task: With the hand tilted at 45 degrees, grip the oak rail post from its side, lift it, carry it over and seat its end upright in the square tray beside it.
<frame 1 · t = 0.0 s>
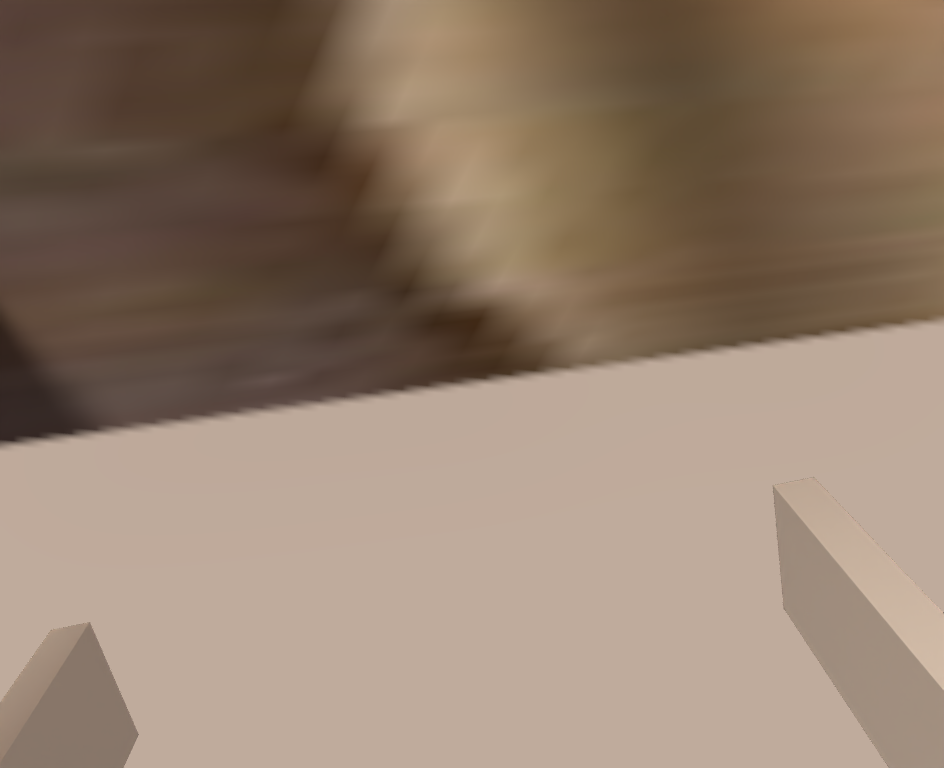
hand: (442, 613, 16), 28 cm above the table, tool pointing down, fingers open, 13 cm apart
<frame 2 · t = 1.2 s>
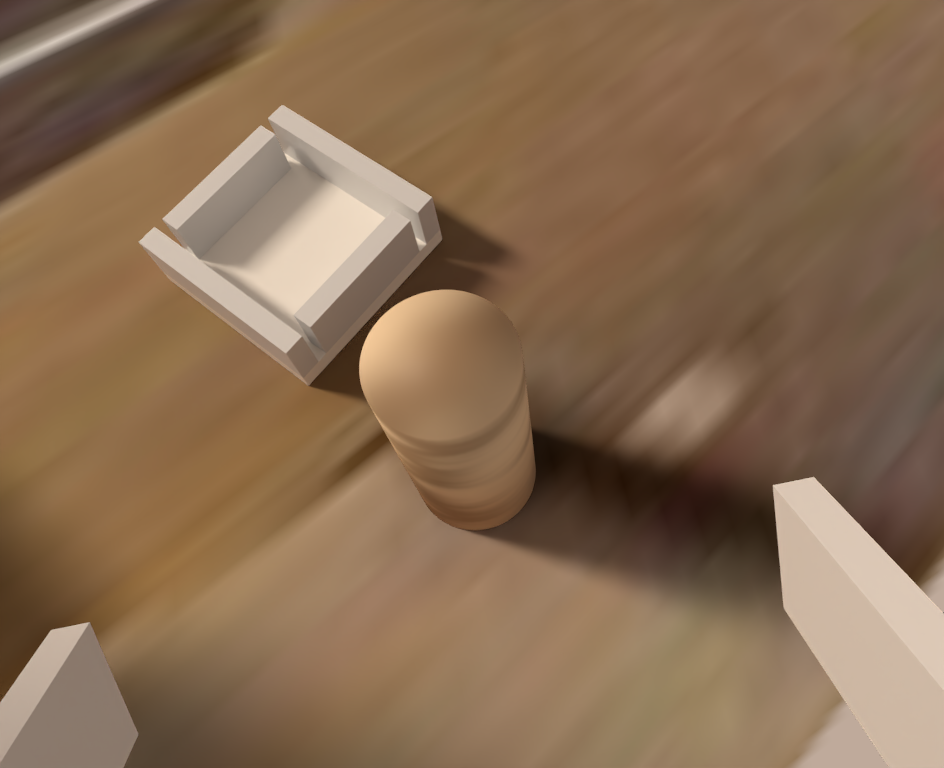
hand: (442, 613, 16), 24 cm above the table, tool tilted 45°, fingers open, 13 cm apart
oak rail post: (476, 471, 42), on the table
square tray: (305, 260, 48), on the table
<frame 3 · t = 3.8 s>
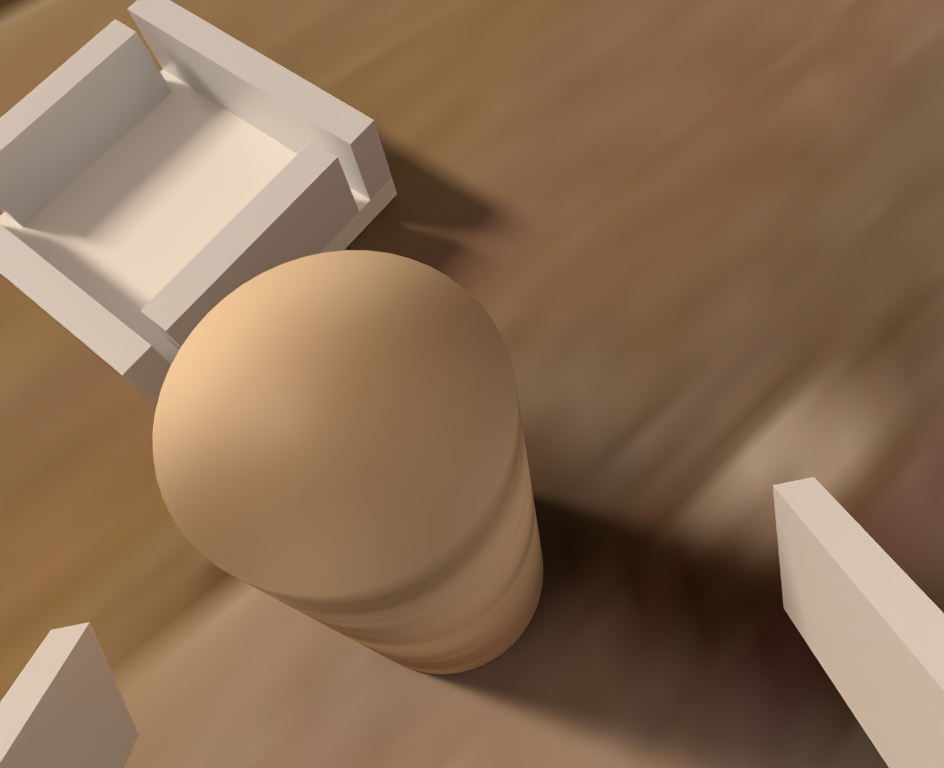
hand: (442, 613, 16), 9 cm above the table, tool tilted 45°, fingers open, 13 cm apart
oak rail post: (444, 570, 25), on the table
square tray: (187, 227, 32), on the table
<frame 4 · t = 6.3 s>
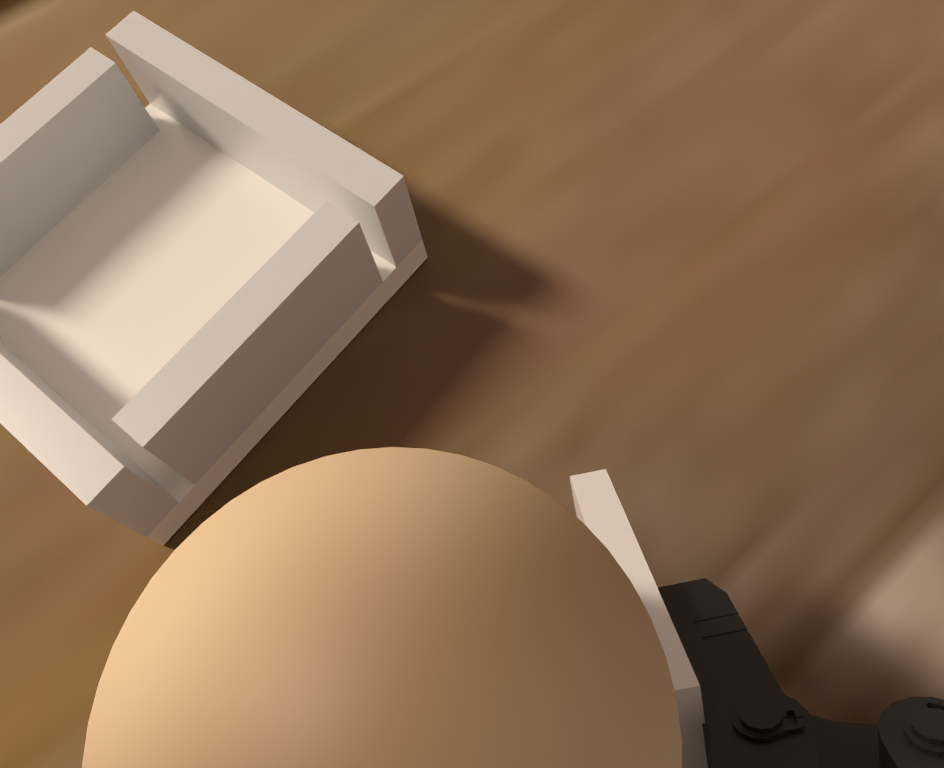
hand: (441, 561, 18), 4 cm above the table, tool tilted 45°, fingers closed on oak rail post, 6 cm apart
oak rail post: (492, 749, 20), on the table, touching gripper
square tray: (176, 295, 26), on the table
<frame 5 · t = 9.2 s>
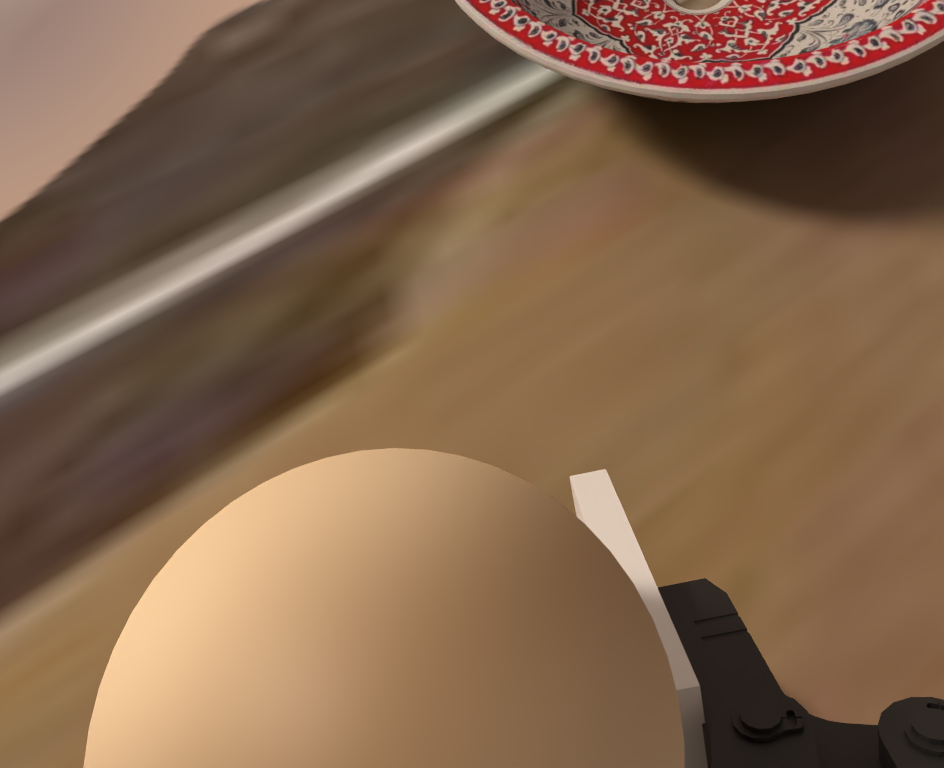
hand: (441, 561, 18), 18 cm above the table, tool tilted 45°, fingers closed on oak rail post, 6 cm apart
oak rail post: (492, 750, 20), point 14 cm above the table, touching gripper
when the fingers open (6 cm above the table, at t = 12.4 s): oak rail post stays where it is, resting on square tray.
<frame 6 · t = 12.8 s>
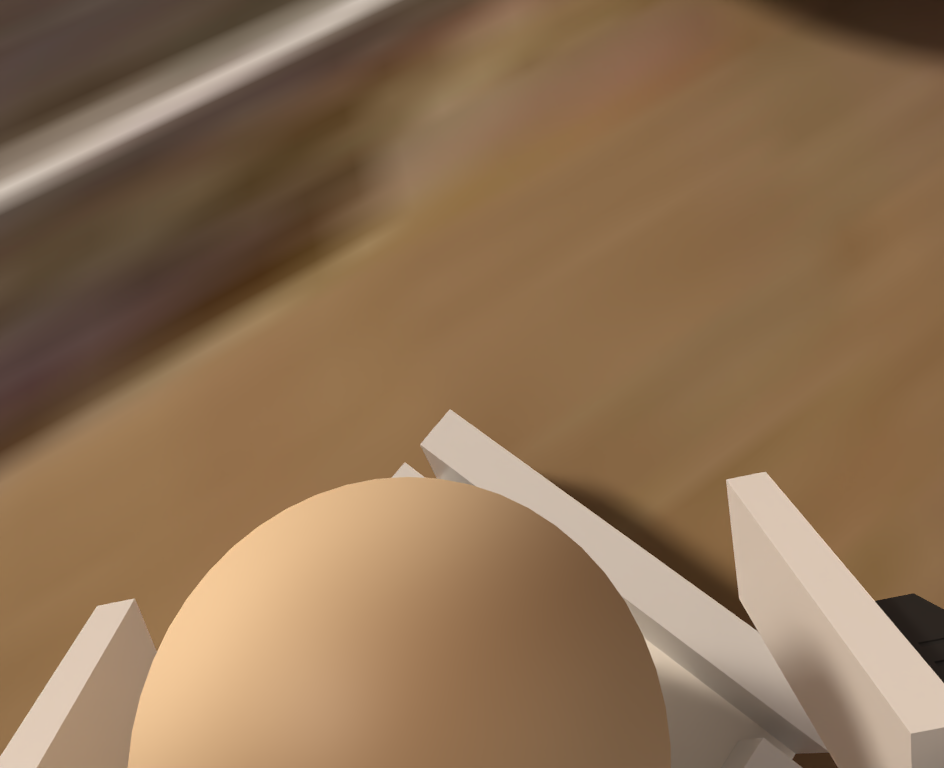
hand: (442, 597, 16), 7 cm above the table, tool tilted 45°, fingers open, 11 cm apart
oak rail post: (494, 751, 21), point 1 cm above the table, touching square tray
square tray: (498, 749, 22), on the table
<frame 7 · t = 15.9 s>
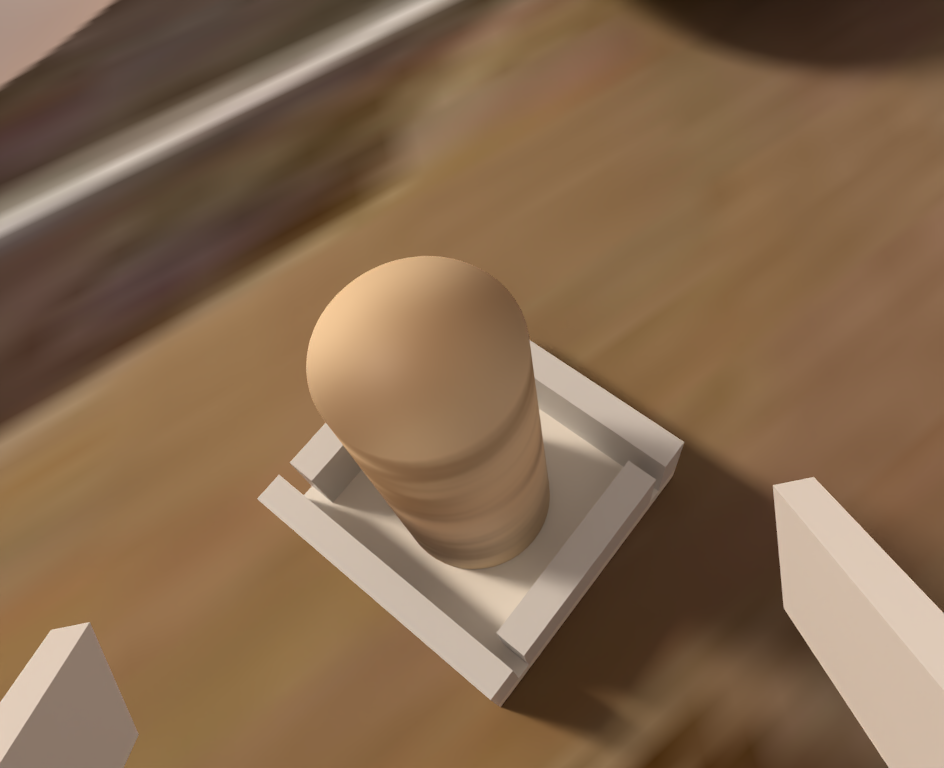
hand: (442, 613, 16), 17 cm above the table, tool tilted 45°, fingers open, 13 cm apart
oak rail post: (475, 495, 34), point 1 cm above the table, touching square tray
square tray: (478, 501, 35), on the table
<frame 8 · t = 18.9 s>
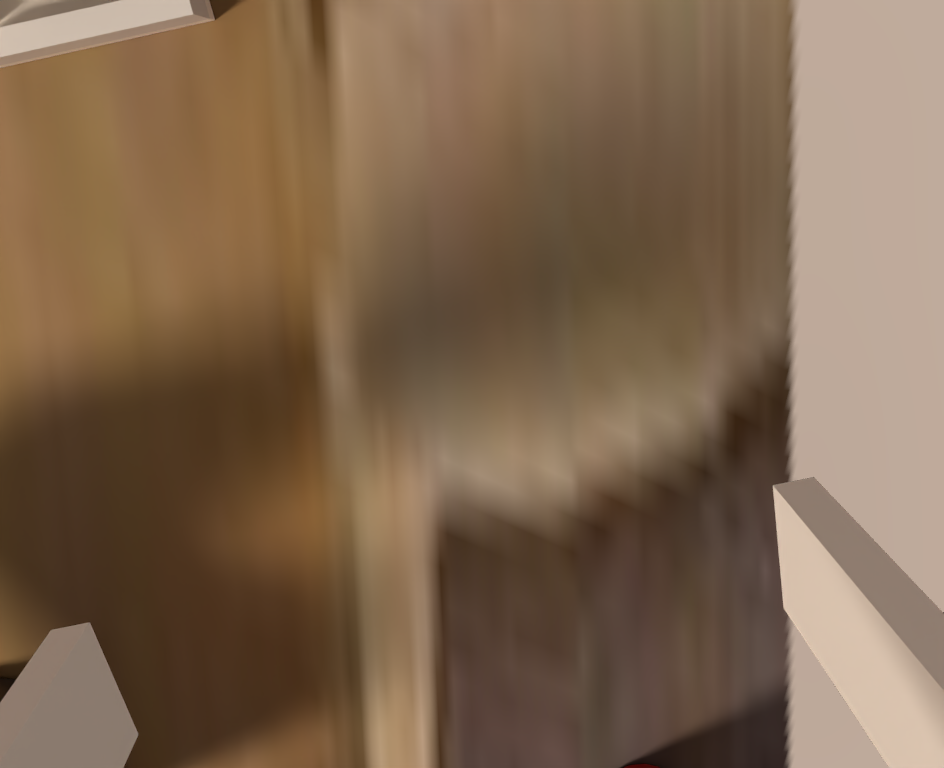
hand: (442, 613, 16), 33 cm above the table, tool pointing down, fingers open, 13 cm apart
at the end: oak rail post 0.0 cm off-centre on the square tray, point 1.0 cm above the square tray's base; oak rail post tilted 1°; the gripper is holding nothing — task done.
